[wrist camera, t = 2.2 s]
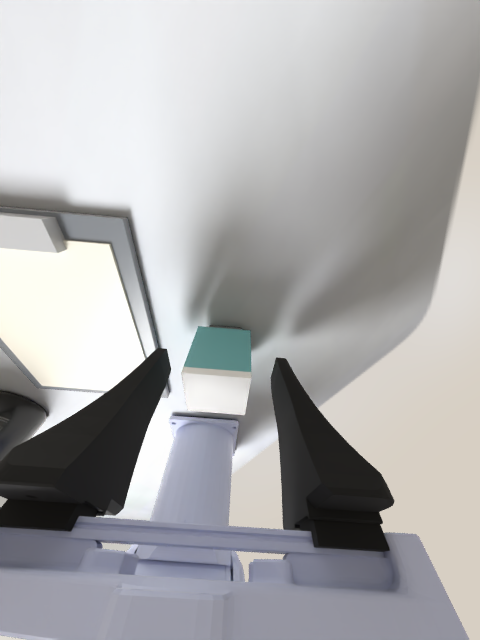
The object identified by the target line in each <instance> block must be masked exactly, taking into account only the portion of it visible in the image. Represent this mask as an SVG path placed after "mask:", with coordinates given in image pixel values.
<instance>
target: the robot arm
mask: <svg viewBox="0 0 480 640" xmlns="http://www.w3.org/2000/svg"><path fill="white" fill-rule="evenodd" d="M170 372H171V367H170V362H169V357H168V353H167V349H161V348H157V349H156V350H155V351H154V352H153V353H152V354H150V355H149V356H148V357H147V358H146V359H145V360H144V361H143V362H142V363H141V364H140V365H139V366H138V367H136V368H135V369H134V370H133V371H132V372H131V373H130V374H129V375H127V376H126V377H125V378H124V379H123V380H121V381H120V382H119V383H118V384H117V385H115V386H114V387H113V388H112V389H110V390H109V391H108V392H106V393H105V394H104V395H102V396H101V397H99V398H98V399H97V400H95V401H94V402H92V403H91V404H89V405H88V406H86V407H85V408H83V409H82V410H80V411H78V412H77V413H75V414H74V415H72V416H70V417H69V418H67V419H65V420H64V421H62V422H60V423H59V424H57V425H55V426H53V427H52V428H50V429H48V430H46V431H44V432H43V433H41V434H39V435H37V436H35V437H33V438H31V439H29V440H27V441H25V442H23V443H21V444H20V445H18V446H16V447H14V448H12V450H11V451H10V452H9V453H8V454H7V455H6V456H5V457H4V458H3V459H2V460H1V462H0V496H2V497H4V498H7V499H8V500H7V501H6V503H5V504H4V505H3V506H2V507H0V635H1V636H7V637H14V638H21V639H27V640H469V638H468V636H467V634H466V632H465V630H464V628H463V626H462V623H461V621H460V619H459V617H458V615H457V613H456V611H455V609H454V607H453V605H452V603H451V601H450V599H449V597H448V595H447V593H446V591H445V589H444V587H443V585H442V583H441V581H440V579H439V577H438V575H437V573H436V571H435V569H434V567H433V564H432V562H431V560H430V558H429V556H428V554H427V552H426V550H425V548H424V546H423V544H422V542H421V540H420V538H419V536H417V535H416V534H405V533H383V531H382V528H381V526H380V524H382V523H383V521H382V519H381V517H380V514H379V512H380V511H382V510H384V509H387V508H389V507H391V506H393V504H394V499H393V497H392V495H391V493H390V490H389V488H388V487H387V484H386V482H385V480H384V479H383V477H382V475H381V473H380V472H378V471H377V470H376V469H375V468H374V467H373V466H372V465H371V464H370V463H368V462H367V461H366V460H365V459H364V458H363V457H362V456H361V455H360V454H359V453H358V452H357V451H356V450H355V449H354V448H353V447H351V446H350V445H349V444H348V443H347V441H346V440H345V439H344V438H343V437H342V436H341V435H340V434H339V433H338V432H337V431H336V430H335V429H334V428H333V426H331V424H330V423H329V422H328V421H327V420H326V418H325V417H324V416H323V415H322V413H321V412H320V411H319V410H318V408H317V407H316V406H315V404H314V403H313V402H312V400H311V399H310V398H309V396H308V395H307V393H306V392H305V390H304V389H303V387H302V386H301V384H300V382H299V381H298V379H297V378H296V376H295V374H294V372H293V371H292V369H291V367H290V365H289V363H288V362H287V360H286V359H285V358H276V360H275V364H274V368H273V371H272V375H271V390H272V398H273V404H274V410H275V416H276V422H277V428H278V437H279V449H280V464H281V483H282V508H283V528H284V530H282V529H266V528H251V527H236V526H228V525H229V524H228V523H229V507H230V489H231V473H232V456H234V453H235V447H236V440H237V433H238V426H239V422H238V421H235V420H223V419H210V418H196V417H183V416H171V417H170V418H169V422H170V426H171V430H172V433H173V437H174V441H173V444H172V447H171V451H170V454H169V458H168V461H167V464H166V468H165V471H164V474H163V478H162V481H161V485H160V488H159V491H158V495H157V498H156V501H155V505H154V508H153V512H152V515H151V518H150V521H146V520H131V519H116V518H101V517H96V516H104V515H116V514H118V513H119V512H120V511H121V510H122V509H123V508H124V504H125V500H126V496H127V493H128V489H129V485H130V482H131V478H132V475H133V472H134V468H135V465H136V462H137V458H138V455H139V452H140V449H141V446H142V443H143V440H144V437H145V434H146V431H147V428H148V425H149V423H150V420H151V418H152V416H153V413H154V411H155V409H156V407H157V405H158V402H159V400H160V398H161V396H162V393H163V391H164V389H165V387H166V384H167V381H168V378H169V375H170ZM100 542H104V543H120V544H133V545H131V547H130V548H129V549H128V550H127V551H126V552H125V551H118V550H108V549H102V544H101V543H100ZM235 551H244V552H260V553H275V554H276V553H277V554H286V555H285V556H284V557H283V560H277V559H272V560H271V559H254V561H253V562H251V563H250V564H249V582H245V579H244V572H243V567H242V564H241V562H240V560H239V558H238V555H237V553H236V552H235Z"/></svg>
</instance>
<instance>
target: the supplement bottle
mask: <svg viewBox="0 0 480 640" xmlns="http://www.w3.org/2000/svg"><path fill="white" fill-rule="evenodd" d="M46 416H47V415H46V412H45V411H44V409H43V408H42V407H40V406H39V405H38V404H36V403H34V402H32V401H30V400H28V399H26V398H24V397H21V396H18V395H15V394H11V393H7V392H0V462H1V460H2V459H3V458H4V457H5V456H6V455H7V454H8V453H9V452H10V451H11V450H12V448H14V447H16V446H18V445H20V444H21V443H23V442H25V441H27V440H29V439H31V437H32V436H33V435H34V434H35V433H36V432H37V430H38V429H39V428H40V427H41V426H42V424H43V423H44V422H45V420H46Z"/></svg>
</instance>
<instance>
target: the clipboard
mask: <svg viewBox="0 0 480 640" xmlns="http://www.w3.org/2000/svg"><path fill="white" fill-rule="evenodd" d="M0 348H1V349H2V350H3V351H4V352H5V353H6V354H7V355H8V357H9V358H10V359H11V360H12V361H13V362H14V363H15V364H16V365H17V366H18V368H19V369H20V370H21V371H22V372H23V373H24V374H25V375H26V376H27V378H28V379H29V380H30V381H31V382H32V383H33V384H34V385H35V386H36V387H37V388H44V389H57V390H70V391H83V392H96V393H106V392H108V391H109V390H110V389H112V388H113V387H114V386H115V385H117V384H118V383H119V382H120V381H121V380H123V379H124V378H125V377H126V376H127V375H129V374H130V373H131V372H132V371H133V370H134V369H135V368H136V367H138V366H139V365H140V364H141V363H142V362H143V361H144V360H145V359H146V358H147V357H148V356H149V355H150V354H152V353H153V352H154V351H155V350H156V349H157V348H158V343H157V339H156V335H155V331H154V327H153V322H152V318H151V314H150V310H149V306H148V301H147V297H146V293H145V289H144V285H143V281H142V276H141V272H140V268H139V264H138V260H137V255H136V251H135V247H134V243H133V239H132V234H131V230H130V226H129V222H128V218H124V217H113V216H102V215H91V214H80V213H69V212H59V211H48V210H37V209H26V208H15V207H4V206H0ZM168 396H169V389H168V385H167V384H166V387H165V389H164V391H163V393H162V396H161V397H162V398H168Z"/></svg>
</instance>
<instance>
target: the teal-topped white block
mask: <svg viewBox="0 0 480 640" xmlns="http://www.w3.org/2000/svg"><path fill="white" fill-rule="evenodd" d="M181 374H182V380H183V387H184V393H185V399H186V406H187V411H197V412H210V413H223V414H236V415H245V412H246V406H247V400H248V395H249V389H250V383H251V331H250V330H242V328H236V327H224V326H212V325H210V326H209V327H202V326H198V329H197V332H196V334H195V337H194V340H193V342H192V345H191V348H190V351H189V353H188V356H187V359H186V361H185V364H184V367H183V370H182V372H181Z"/></svg>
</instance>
